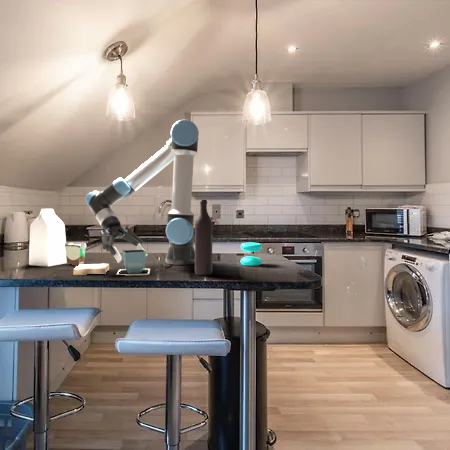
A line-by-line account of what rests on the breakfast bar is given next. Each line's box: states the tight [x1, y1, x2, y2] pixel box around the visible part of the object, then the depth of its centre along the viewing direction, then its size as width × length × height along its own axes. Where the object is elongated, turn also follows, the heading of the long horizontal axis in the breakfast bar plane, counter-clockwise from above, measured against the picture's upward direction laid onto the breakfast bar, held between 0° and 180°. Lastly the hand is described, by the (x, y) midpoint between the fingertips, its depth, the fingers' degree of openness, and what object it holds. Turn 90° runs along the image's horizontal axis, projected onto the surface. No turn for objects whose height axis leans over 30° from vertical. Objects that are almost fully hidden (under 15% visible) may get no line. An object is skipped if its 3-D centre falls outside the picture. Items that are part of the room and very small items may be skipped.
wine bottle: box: [194, 199, 213, 276], centre depth 154 cm, size 7×7×30 cm
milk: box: [28, 208, 67, 267], centre depth 179 cm, size 12×12×26 cm
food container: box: [64, 241, 87, 266], centre depth 179 cm, size 12×6×10 cm, turn 58°
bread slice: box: [73, 263, 110, 276], centre depth 158 cm, size 12×12×3 cm
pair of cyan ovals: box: [240, 242, 263, 267], centre depth 179 cm, size 10×10×10 cm
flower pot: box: [121, 249, 147, 274], centre depth 157 cm, size 9×9×9 cm
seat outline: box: [115, 268, 151, 276], centre depth 158 cm, size 13×13×1 cm
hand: (133, 258), depth 157 cm, fingers open, 13 cm apart
